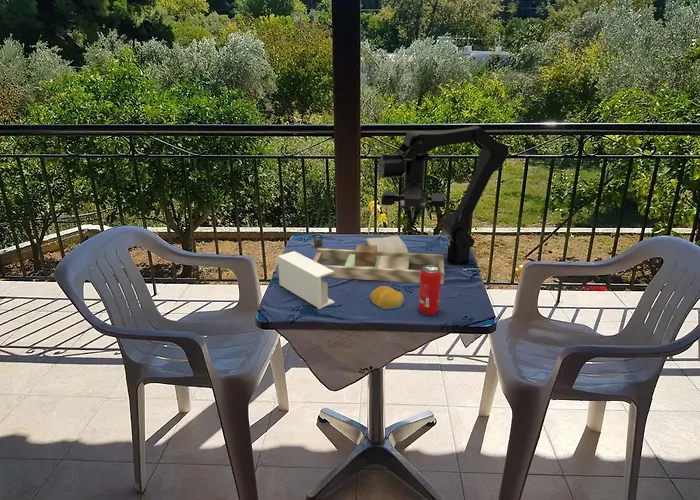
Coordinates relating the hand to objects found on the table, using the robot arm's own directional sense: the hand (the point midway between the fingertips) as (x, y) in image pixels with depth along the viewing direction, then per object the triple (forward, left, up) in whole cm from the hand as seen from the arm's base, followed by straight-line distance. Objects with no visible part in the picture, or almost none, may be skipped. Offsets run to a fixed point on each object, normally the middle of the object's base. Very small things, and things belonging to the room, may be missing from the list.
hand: (412, 226), depth 154 cm
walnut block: (+13, +5, -10) cm, 18 cm away
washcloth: (+8, -12, -14) cm, 20 cm away
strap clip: (+32, -12, -14) cm, 37 cm away
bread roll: (+5, +25, -14) cm, 29 cm away
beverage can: (-6, +29, -13) cm, 32 cm away
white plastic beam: (+28, +23, -13) cm, 39 cm away
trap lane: (+10, +5, -13) cm, 17 cm away
